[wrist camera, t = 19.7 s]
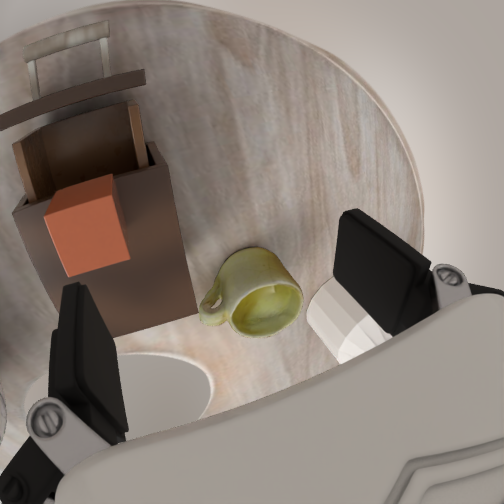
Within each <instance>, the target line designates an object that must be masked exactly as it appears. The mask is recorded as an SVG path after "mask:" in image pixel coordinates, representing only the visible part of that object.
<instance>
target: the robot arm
mask: <svg viewBox="0 0 504 504" xmlns="http://www.w3.org/2000/svg"><path fill="white" fill-rule="evenodd" d="M430 265H431V261H429V260H428V259H427V258H426V257H424V256H423V255H422V254H420V253H419V252H418V251H416V250H415V249H414V248H413V247H411V246H410V245H409V244H407V243H406V242H405V241H403V240H402V239H401V238H399V237H398V236H396V235H395V234H394V233H392V232H391V231H390V230H388V229H387V228H385V227H384V226H383V225H381V224H380V223H378V222H377V221H376V220H374V219H373V218H371V217H370V216H368V215H367V214H366V213H364V212H363V211H361V210H360V209H358V208H357V209H352V210H348V211H345V212H343V214H342V216H341V217H340V219H339V227H338V236H337V245H336V253H335V261H334V268H333V275H334V278H335V279H336V281H337V282H338V283H339V284H340V285H341V286H342V287H343V288H344V289H345V290H346V291H347V292H348V293H349V294H350V295H351V296H352V297H353V298H354V299H355V300H356V301H357V303H358V304H359V305H360V306H361V307H362V308H363V309H364V310H365V311H366V312H367V313H368V314H369V315H370V316H371V317H372V318H373V320H374V321H375V322H376V323H377V324H378V325H379V326H380V327H381V328H382V329H383V330H384V331H385V332H386V333H388V334H390V335H391V336H392V338H391V339H389V340H387V341H385V342H383V343H381V344H380V345H378V346H376V347H374V348H372V349H370V350H368V351H366V352H364V353H362V354H360V355H358V356H356V357H354V358H352V359H350V360H348V361H346V362H344V363H342V364H340V365H338V366H336V367H334V368H332V369H330V370H327V371H325V372H323V373H321V374H319V375H317V376H314V377H312V378H310V379H308V380H305V381H303V382H301V383H298V384H296V385H294V386H291V387H289V388H286V389H284V390H281V391H279V392H277V393H274V394H272V395H269V396H266V397H264V398H261V399H259V400H256V401H253V402H251V403H248V404H245V405H242V406H240V407H237V408H234V409H231V410H228V411H225V412H222V413H219V414H216V415H213V416H210V417H207V418H204V419H201V420H197V421H195V422H191V423H188V424H185V425H181V426H178V427H175V428H171V429H168V430H164V431H160V432H157V433H153V434H149V435H146V436H143V437H140V438H136V439H133V440H129V441H126V438H125V432H128V430H129V428H128V423H127V418H126V413H125V407H124V401H123V396H122V389H121V383H120V376H119V369H118V360H117V352H116V346H115V342H114V340H113V338H112V336H111V334H110V332H109V330H108V328H107V326H106V324H105V322H104V320H103V318H102V316H101V314H100V312H99V310H98V308H97V306H96V304H95V302H94V300H93V298H92V295H91V293H90V291H89V289H88V287H87V285H86V284H84V285H81V283H80V282H75V283H72V284H68V285H65V286H63V290H62V297H61V305H60V313H59V322H58V329H55V330H54V331H53V332H52V337H51V348H50V362H49V383H48V384H49V385H48V386H49V387H48V398H43V399H40V400H38V402H36V403H35V404H33V406H32V407H31V409H30V410H29V412H28V415H27V419H26V426H27V431H28V433H29V434H30V436H29V438H28V439H27V440H26V441H25V443H24V444H23V445H22V447H21V448H20V449H19V451H18V452H17V453H16V455H15V456H14V457H13V459H12V460H11V461H10V463H9V464H8V465H7V467H6V468H5V470H4V471H3V472H2V474H1V476H0V500H1V502H2V504H504V292H503V291H502V290H499V289H495V288H490V287H485V286H480V285H475V284H471V283H468V282H467V279H466V277H465V275H464V273H463V272H462V271H461V270H459V269H458V268H456V267H454V266H452V265H449V264H438V265H436V266H435V267H434V269H433V271H430V270H429V268H430ZM121 442H123V443H121ZM118 443H120V444H118Z"/></svg>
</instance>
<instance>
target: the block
mask: <svg viewBox="0 0 504 504" xmlns="http://www.w3.org/2000/svg"><path fill="white" fill-rule="evenodd" d="M44 219H45V222H46V225H47V228H48V230H49V233H50V235H51V238H52V240H53V243H54V245H55V248H56V250H57V253H58V255H59V257H60V260H61V262H62V264H63V267H64V269H65V271H66V273H67V276H68V277H72V276H75V275H78V274H82V273H85V272H88V271H92V270H95V269H98V268H102V267H105V266H108V265H112V264H115V263H119V262H122V261H125V260H129V259H130V258H131V257H130V250H129V241H128V232H127V226H126V223H125V219H124V215H123V212H122V208H121V204H120V200H119V196H118V192H117V188H116V184H115V180H114V176H113V174H109V175H105V176H102V177H98V178H95V179H92V180H89V181H85V182H82V183H79V184H76V185H73V186H70V187H67V188H64V189H61V190H58V191H56V192H55V194H54V196H53V198H52V200H51V202H50V204H49V206H48V208H47V210H46V212H45V215H44Z"/></svg>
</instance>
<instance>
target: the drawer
mask: <svg viewBox="0 0 504 504" xmlns="http://www.w3.org/2000/svg"><path fill="white" fill-rule="evenodd" d="M108 37H110V32H109V21H108V20H106V21H102V22H98V23H94V24H90V25H87V26H83V27H79V28H76V29H73V30H69V31H66V32H63V33H60V34H57V35H54V36H51V37H48V38H45V39H43V40H40V41H37V42H35V43H32V44H30V45H27V46H25V47H24V48H23V58H24V61H25V62H26V63H28V70H29V78H30V85H31V92H32V98H33V101H32V102H29V103H27V104H24V105H22V106H19V107H17V108H15V109H12V110H10V111H8V112H5V113H3V114H1V115H0V131H2V130H5V129H7V128H9V127H12V126H14V125H16V124H19V123H21V122H23V121H26V120H28V119H31V118H34V117H36V116H39V115H41V114H44V113H47V112H50V111H52V110H55V109H58V108H61V107H64V106H67V105H70V104H73V103H77V102H80V101H83V100H87V99H90V98H93V97H97V96H101V95H104V94H108V93H112V92H116V91H120V90H124V89H129V88H133V87H137V86H142V85H146V79H145V71H144V69H141V70H136V71H131V72H127V73H122V74H118V75H114V76H112V75H111V67H110V59H109V50H108V39H107V38H108ZM96 40H100V49H101V58H102V67H103V75H104V78H102V79H98V80H95V81H91V82H88V83H84V84H81V85H78V86H74V87H71V88H68V89H65V90H62V91H59V92H56V93H53V94H50V95H48V96H45V97H42V98H41V95H40V89H39V82H38V75H37V67H36V59H39V58H42V57H44V56H47V55H50V54H53V53H56V52H59V51H62V50H65V49H68V48H71V47H74V46H78V45H81V44H85V43H88V42H92V41H96ZM12 146H13V150H14V154H15V158H16V162H17V165H18V169H19V172H20V176H21V179H22V182H23V186H24V189H25V192H26V195H27V198H28V201H29V204H30V203H32V202H35V201H38V200H40V199H43V198H46V197H49V196H52V195H54V194H55V192H56V191H58V190H61V189H64V188H67V187H70V186H73V185H76V184H79V183H82V182H85V181H89V180H92V179H95V178H98V177H102V176H105V175H109V174H113V176H116V175H119V174H123V173H127V172H130V171H134V170H138V169H142V168H146V167H149V163H148V158H147V152H146V147H145V141H144V135H143V129H142V123H141V117H140V110H139V105H138V103H137V102H136V101H135V100H130V101H126V102H121V103H117V104H113V105H110V106H106V107H102V108H99V109H95V110H92V111H88V112H85V113H81V114H78V115H75V116H72V117H69V118H66V119H63V120H60V121H57V122H54V123H51V124H48V125H46V126H43V127H40V128H38V129H35V130H34V131H32V132H30V133H29V134H27V135H26V136H24V137H23V138H21V139H20V140H18V141H16V142H15V143H13V144H12Z"/></svg>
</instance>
